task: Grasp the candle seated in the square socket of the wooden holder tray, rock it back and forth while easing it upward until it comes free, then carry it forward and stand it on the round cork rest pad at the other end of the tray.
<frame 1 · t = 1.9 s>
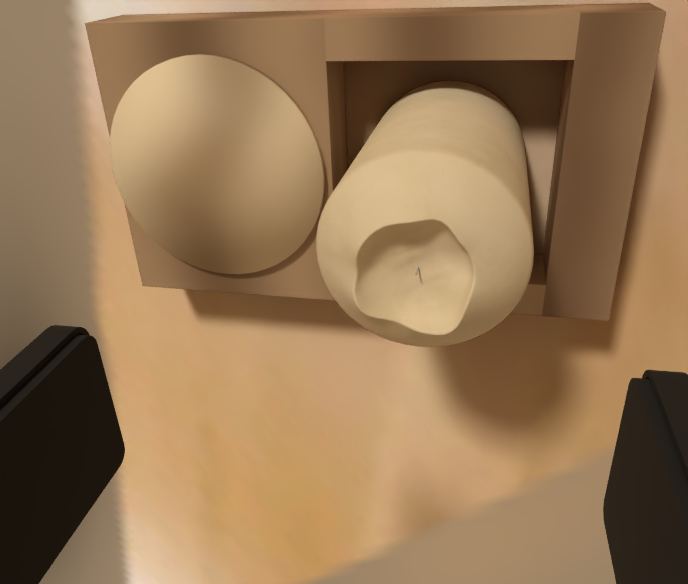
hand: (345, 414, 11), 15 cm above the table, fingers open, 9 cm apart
candle: (447, 154, 24), resting in wooden holder tray
wooden holder tray: (366, 154, 24), on the table
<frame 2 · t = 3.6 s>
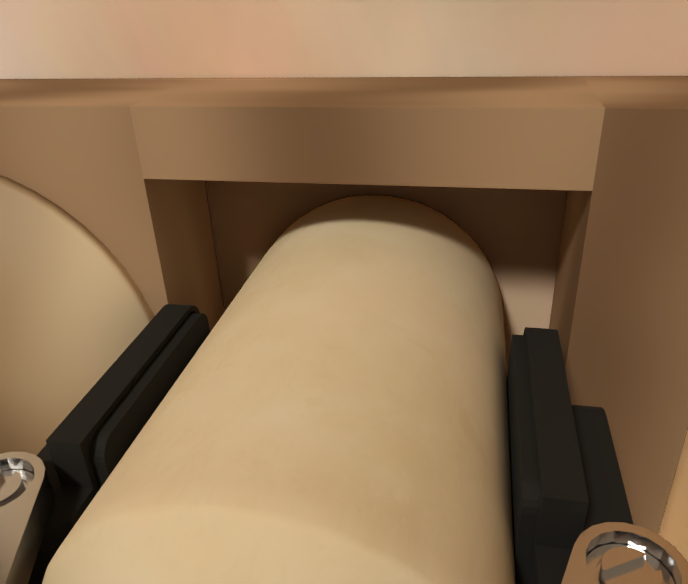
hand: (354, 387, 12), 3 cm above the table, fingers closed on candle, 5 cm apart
candle: (379, 302, 15), resting in wooden holder tray, touching gripper
wooden holder tray: (252, 298, 15), on the table
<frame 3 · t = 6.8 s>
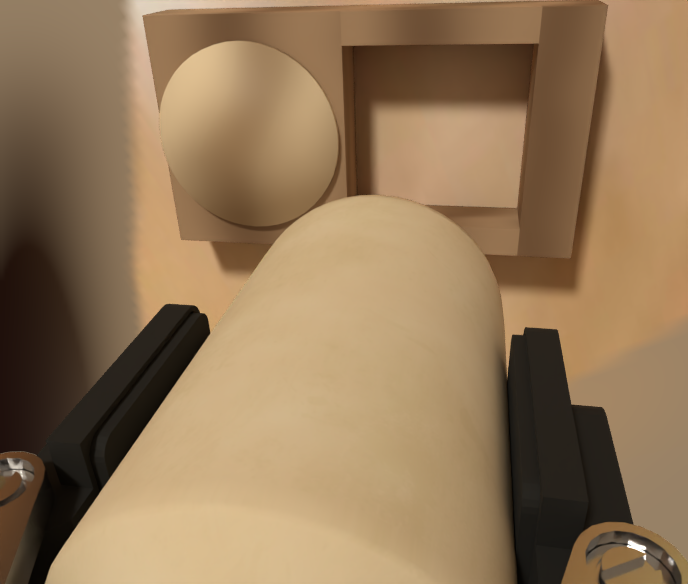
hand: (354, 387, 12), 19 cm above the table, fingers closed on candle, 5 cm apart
candle: (379, 301, 15), point 16 cm above the table, touching gripper
wooden holder tray: (371, 125, 29), on the table
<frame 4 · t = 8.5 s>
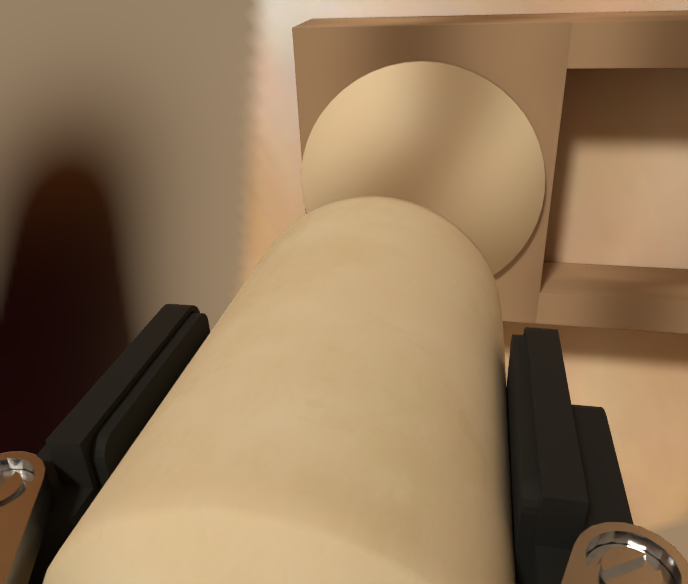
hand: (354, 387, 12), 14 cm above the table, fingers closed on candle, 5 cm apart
candle: (378, 302, 15), point 10 cm above the table, touching gripper
wooden holder tray: (568, 166, 23), on the table
when the fingers open (7 cm above the table, at t = 10.1 s): candle moves 1 cm, resting on wooden holder tray.
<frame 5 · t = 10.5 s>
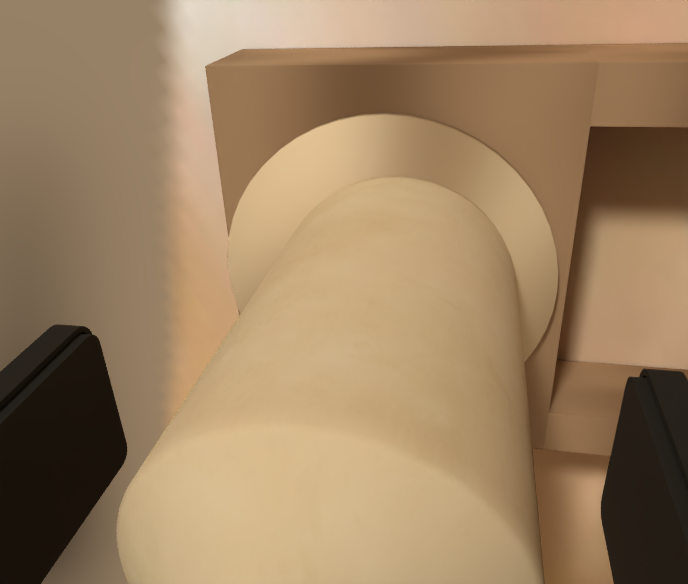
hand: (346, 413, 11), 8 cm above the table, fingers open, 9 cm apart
candle: (399, 278, 16), point 3 cm above the table, touching wooden holder tray
wooden holder tray: (586, 244, 17), on the table
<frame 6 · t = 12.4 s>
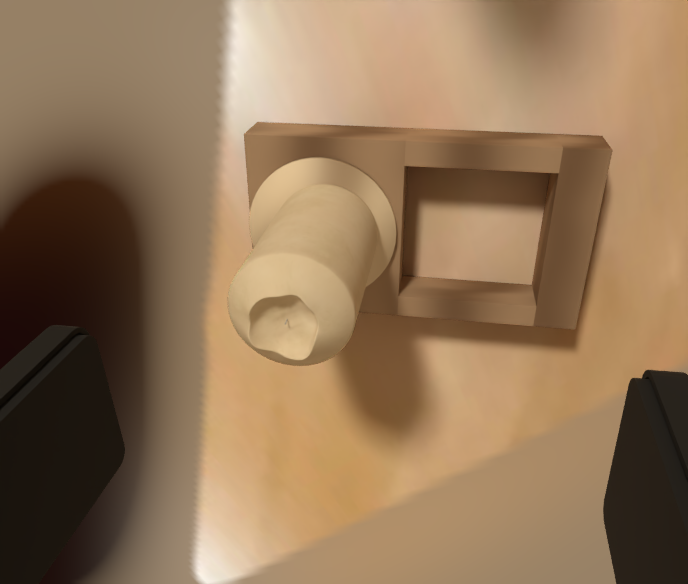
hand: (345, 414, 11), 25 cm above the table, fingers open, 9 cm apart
candle: (328, 230, 34), point 3 cm above the table, touching wooden holder tray
wooden holder tray: (418, 217, 36), on the table
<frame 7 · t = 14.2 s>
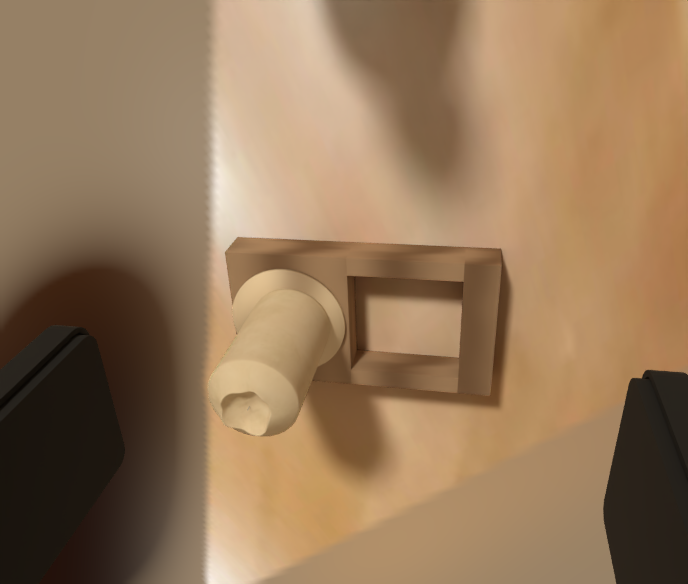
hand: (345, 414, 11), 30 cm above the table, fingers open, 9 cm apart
candle: (292, 321, 44), point 3 cm above the table, touching wooden holder tray
wooden holder tray: (365, 307, 46), on the table
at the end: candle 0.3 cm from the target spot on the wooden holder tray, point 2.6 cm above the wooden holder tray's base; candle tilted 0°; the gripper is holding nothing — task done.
